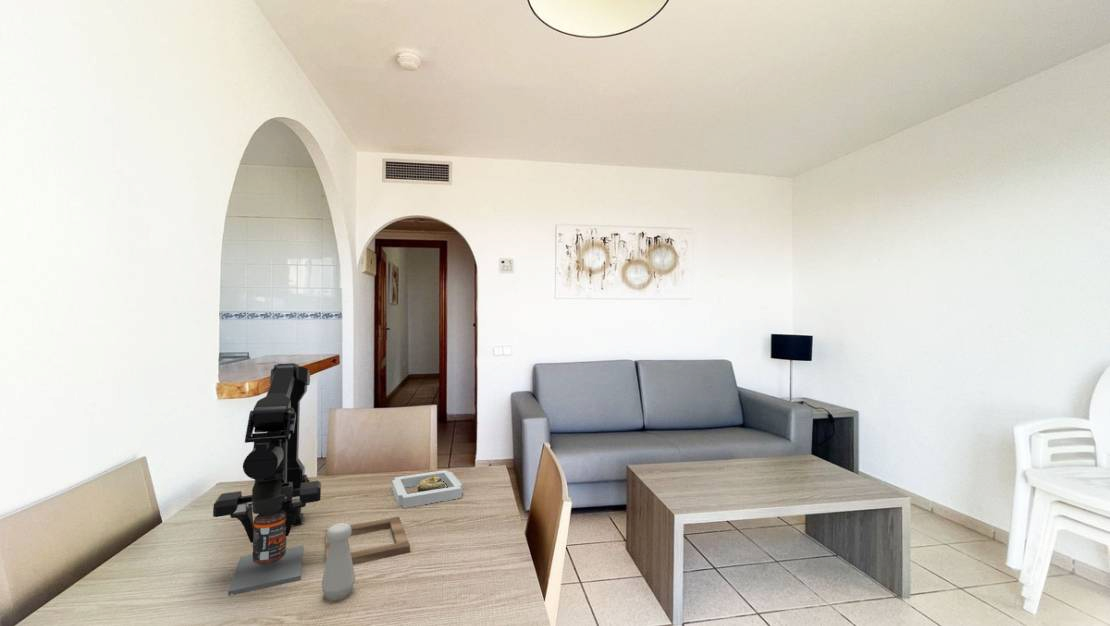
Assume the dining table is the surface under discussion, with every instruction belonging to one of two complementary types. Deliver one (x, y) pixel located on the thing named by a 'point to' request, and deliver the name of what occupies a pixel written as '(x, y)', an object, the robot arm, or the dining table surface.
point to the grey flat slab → (267, 571)
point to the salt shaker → (338, 564)
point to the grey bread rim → (426, 496)
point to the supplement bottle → (269, 536)
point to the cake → (430, 484)
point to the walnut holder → (382, 551)
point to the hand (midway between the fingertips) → (269, 538)
